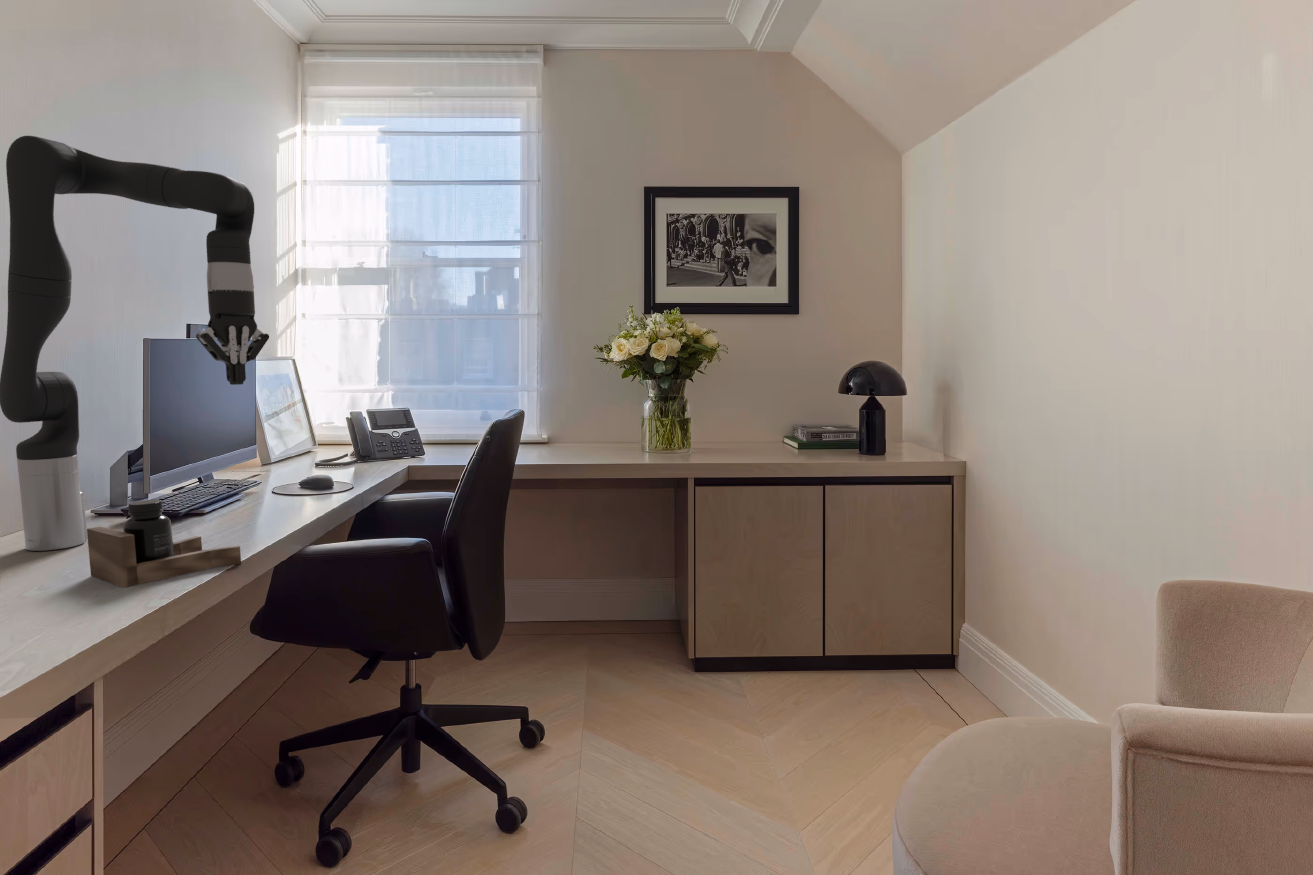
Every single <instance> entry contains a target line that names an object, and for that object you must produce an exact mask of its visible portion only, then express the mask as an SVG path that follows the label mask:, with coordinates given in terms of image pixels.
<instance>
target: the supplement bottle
mask: <svg viewBox="0 0 1313 875" xmlns="http://www.w3.org/2000/svg"><path fill="white" fill-rule="evenodd" d="M127 506H128V507H127V508H128V516H130V518H129V519H127V520H126V521H125V522H124V523H123V526H122V530H123V531H122V532H124V533H128V534H132V535H134V539H135V551H136V563H137V564H138V563H143V562H147V561H152V560H157V559H162V558H167V557H172V556H174V549H173V542H174V541H173V540H174V539H173V531H172V530H173V528H172V522H171V519H170V518H169V517H168V516H167V515H164V514H162V513H163V512H164V507H163V501H162V500H161V499H146V500H138V501H137V500H136V501H132V502H130V503H128V504H127Z"/></svg>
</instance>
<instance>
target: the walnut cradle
mask: <svg viewBox="0 0 1313 875" xmlns="http://www.w3.org/2000/svg"><path fill="white" fill-rule="evenodd" d="M86 529H87V544H88V545H87V546H88V548H87V549H88V557H89V567H90V569H89V570H90V577H92V578H94V579H98V580H101V581H104V582H107V583H110V584H113V585H117V586H119V587H122V588H128V587H133V586H137V585H141V584H147V583H151V582H155V581H159V580H164V579H168V578H172V577H176V576H182V575H186V574H190V573H196V572H199V571H204V570H205V571H206V570H209V569H212V568H213V569H214V568H221V567H227V566H234V565H240V564H242V558H241V557H242V555H241V546H240V544H239V545H232V546H224V547H215V548H209V549H203V543H202V536H192V537H189V538H185V539H181V540H177V541H173V549H174V556H172V557H167V558H162V559H157V560H152V561H147V562H143V563H138V564H137V563H136V551H135V539H134V535H132V534H128V533H124V532H123V531H121V530H120V531H119V530H116V529H112V528H109V527H104V526H95V527H89V528H86Z"/></svg>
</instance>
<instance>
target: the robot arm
mask: <svg viewBox="0 0 1313 875" xmlns="http://www.w3.org/2000/svg"><path fill="white" fill-rule="evenodd" d="M5 160H6V161H5V170H6V182H7V193H8V195H7V196H8V204H9V263H8V274H7V276H8V277H7V319H6V320H7V321H6V335H5V336H6V337H5V345H4V354H3V360H2V364H1V372H0V410H1V412H2V414H3V415H4V417H5V418H6V419H7V420H9V421H10V422H13V423H16V424H17V423H21V424H22V423H35V422H42V424H41V428H40V429H39V430H38V432H36V433H35V434H33V436H31V437H29V438H27V439H24V440H22V441H20V442H19V443H18V444H17V445H16V447H15V448H16V449H15V452H16V458H17V459H16V463H17V472H18V483H19V484H18V485H19V493H20V505H21V514H22V522H23V523H22V524H23V536H24V544H25V546H24V547H25V550H26V551H31V552H33V551H41V552H42V551H44V552H45V551H52V550H53V551H54V550H59V549H61V550H62V549H67V548H72V547H73V548H74V547H76V546H80V545H82V544H84V543H85V542H86V540H87V541H88V537H87V529H88V528H87V519H86V509H85V498H84V497H85V496H84V493H83V492H82V491H81V482H80V480H81V479H80V471H79V470H80V469H79V460H78V451H77V450H78V443H79V439H80V424H79V423H80V420H79V418H80V417H79V397H78V391H77V387H76V384H75V382H74V380H73V379H72V377H70V376H69V375H68V374H66V373H65V372H61V371H37V370H38V364H39V358H40V354H41V351H42V349H43V346H44V345H45V343H46V341H47V339H49V337H50V335H51V334H52V333H53V331H54V330H56V328H57V326H58V325H59V324H60V322H61V321H62V320H63V319H64V318H65V315H66V314H67V312H68V310H69V308H70V305H71V299H72V298H71V296H72V282H73V281H72V277H73V275H72V266H71V262H70V260H69V257H68V254H67V253H66V250H65V247H64V246H63V244H62V241H61V239H60V236H59V234H58V232H57V229H56V224H55V212H54V211H55V195H70V194H71V195H72V194H74V195H75V194H89V195H90V194H91V195H92V194H93V195H95V194H97V195H108V196H109V195H110V196H116V197H121V198H124V199H125V198H126V199H129V200H133V201H136V202H140V203H143V204H144V203H145V204H150V205H154V206H160V207H165V208H166V207H167V208H171V209H172V208H173V209H178V210H179V209H181V210H185V209H186V210H188V209H191V210H196V211H201V212H205V213H208V214H212V215H216V218H215V220H216V221H215V228H214V229H213V230H211V231H209V232H208V233H207V234H206V242H205V243H206V246H205V247H206V261H207V270H206V284H207V285H206V288H207V302H208V303H207V304H208V314H209V321H208V323H207V328H206V329H204V330H203V331H202V332H198V333H196V335H195V336H196V337H195V338H196V339H197V340H198V342H199V343H200V344H201V345H202V347H203V348H204V349H205V350H206V351H207V352H208V353H209V354H210V356H211V357H212V358H213V360H214V361H219V362H221V363H224V364H225V371H226V372H225V374H226V380H227V382H228V383H229V384H230V385H235V386H238V385H244V382H245V381H246V377H247V376H246V375H247V374H246V363H248V362H250V361H255V360H256V358H257V357H258V355H259V354H260V352H261V350H263V348H264V346H265V345H266V343H267V341H268V340H269V338H270V336H269V335H270V334H268V333H264V332H262V331H261V330H260V329H259V328H258V324H257V322H256V319H255V314H256V307H255V306H256V305H255V290H254V289H255V286H254V285H255V284H254V276H253V271H252V270H253V269H252V265H251V264H252V262H251V248H250V238H251V235H252V230H253V223H254V220H255V219H254V218H255V200H254V196H253V194H252V192H251V190H250V188H249V187H248V186H247V185H246V184H245V183H243V181H240V180H237V179H234V178H232V177H230V176H227V175H224V174H221V173H216V172H210V171H202V170H185V169H181V168H179V167H178V168H177V167H171V166H166V165H161V164H154V163H146V162H135V161H134V162H133V161H131V162H130V161H120V160H114V159H113V160H112V159H108V158H106V157H100V156H99V155H98V156H97V155H95V154H92V153H88V152H86V151H83V150H80V149H78V148H75V147H72V146H69V145H68V144H66V143H64V142H59V141H57V140H52V139H47V138H44V137H39V136H35V135H22V136H19V137H18V138H16V139H15V140H14V141H13V142H12V143H11V144H10V146H9V148H8V151H7V155H6V159H5ZM215 339H216V340H217V341H218V342H219V344H218V343H217V342H216V341H215ZM249 342H250V343H249Z"/></svg>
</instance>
